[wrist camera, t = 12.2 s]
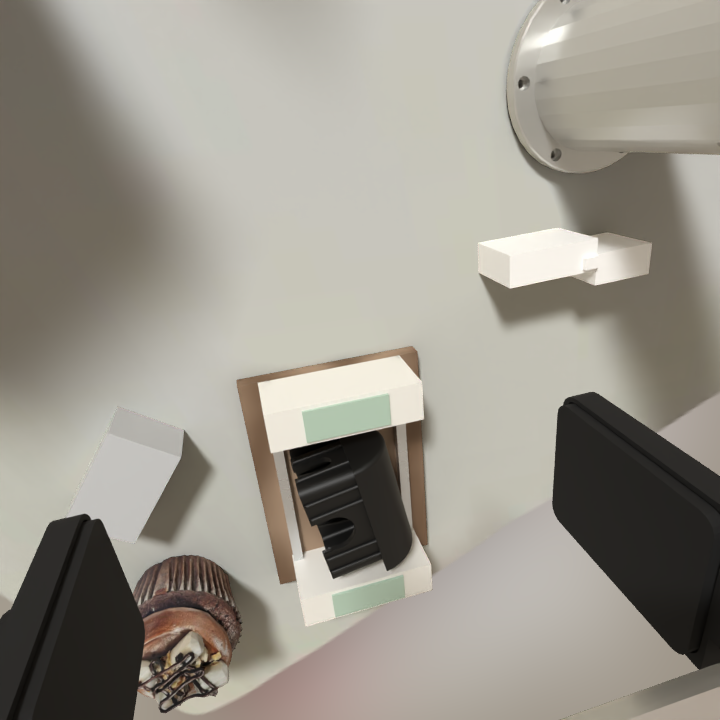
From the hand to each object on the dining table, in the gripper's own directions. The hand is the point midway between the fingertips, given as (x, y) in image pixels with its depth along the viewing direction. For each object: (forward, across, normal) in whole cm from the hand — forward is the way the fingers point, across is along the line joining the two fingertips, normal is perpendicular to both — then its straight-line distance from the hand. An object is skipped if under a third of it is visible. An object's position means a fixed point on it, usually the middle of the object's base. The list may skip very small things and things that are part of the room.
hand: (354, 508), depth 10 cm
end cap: (+27, -3, +20) cm, 34 cm away
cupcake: (+28, +12, +28) cm, 42 cm away
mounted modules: (+27, -3, +20) cm, 34 cm away
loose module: (+28, +13, +14) cm, 34 cm away
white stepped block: (+29, -22, +5) cm, 37 cm away
